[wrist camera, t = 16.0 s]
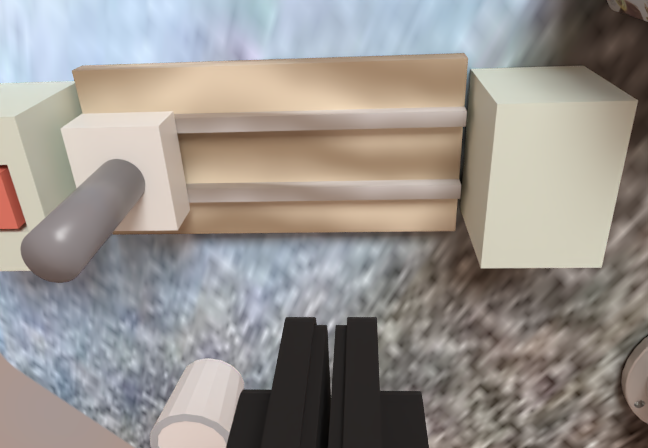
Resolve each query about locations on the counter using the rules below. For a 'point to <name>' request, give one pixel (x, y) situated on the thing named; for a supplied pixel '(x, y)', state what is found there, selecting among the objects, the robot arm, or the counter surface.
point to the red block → (9, 202)
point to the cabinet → (543, 165)
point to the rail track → (304, 139)
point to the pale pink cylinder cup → (199, 407)
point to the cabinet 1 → (35, 154)
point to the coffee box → (631, 8)
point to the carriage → (110, 189)
